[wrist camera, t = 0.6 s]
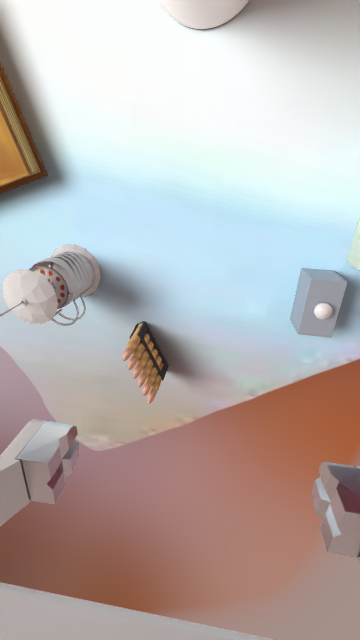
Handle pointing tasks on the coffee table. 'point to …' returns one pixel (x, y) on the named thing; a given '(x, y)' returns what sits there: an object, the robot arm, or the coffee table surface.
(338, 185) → the coffee table surface
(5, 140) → the diary
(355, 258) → the stand
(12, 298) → the french press
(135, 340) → the ammunition clip
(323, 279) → the block
